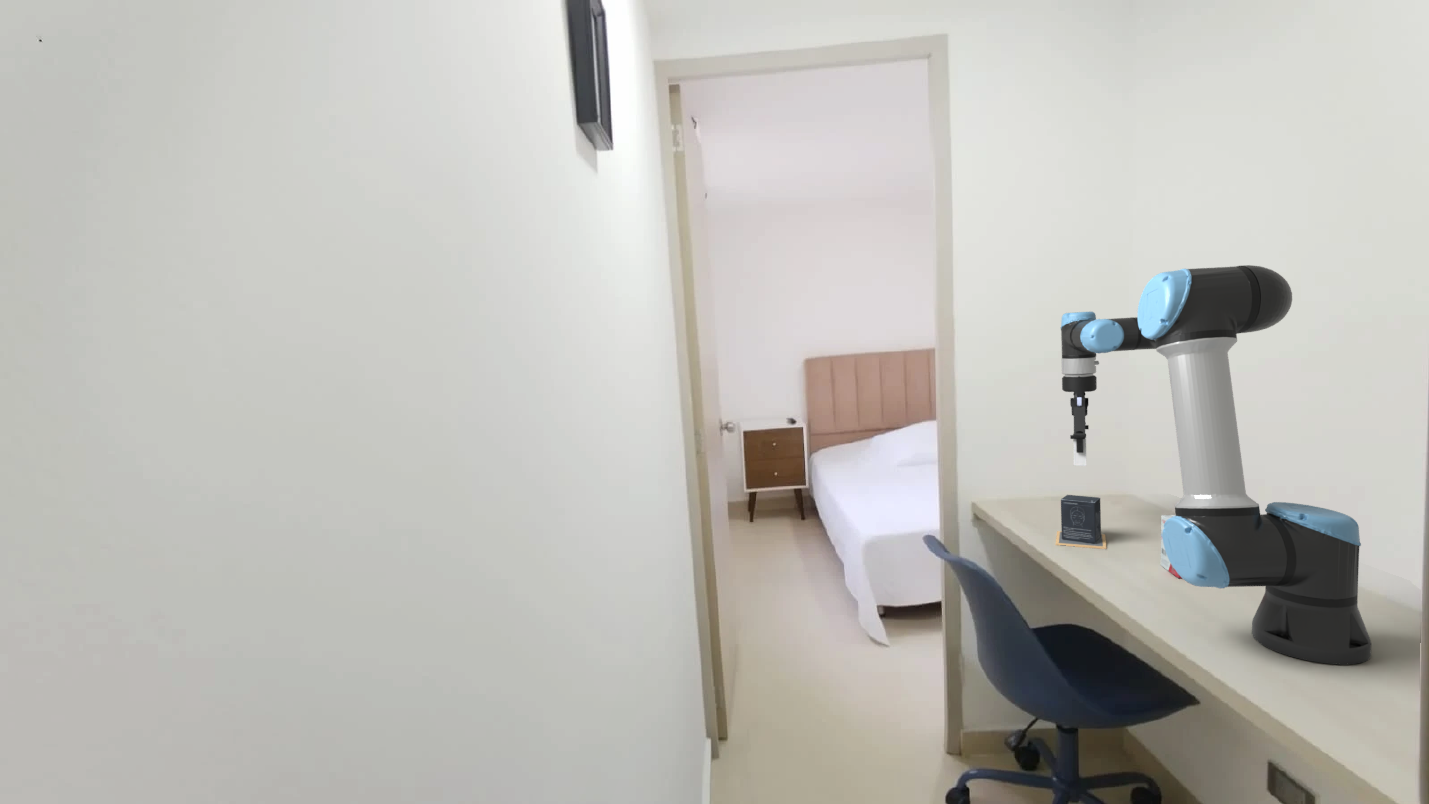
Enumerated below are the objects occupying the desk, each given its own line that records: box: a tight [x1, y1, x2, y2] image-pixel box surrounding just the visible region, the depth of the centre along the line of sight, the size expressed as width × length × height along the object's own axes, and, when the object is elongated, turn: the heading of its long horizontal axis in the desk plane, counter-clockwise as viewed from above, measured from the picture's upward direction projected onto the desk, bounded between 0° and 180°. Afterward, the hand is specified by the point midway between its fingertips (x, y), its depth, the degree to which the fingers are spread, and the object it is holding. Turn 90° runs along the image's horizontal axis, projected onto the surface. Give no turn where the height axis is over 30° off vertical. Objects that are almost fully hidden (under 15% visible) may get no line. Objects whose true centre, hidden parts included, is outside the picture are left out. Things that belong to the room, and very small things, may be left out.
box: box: [1060, 494, 1102, 543], centre depth 175 cm, size 8×6×11 cm
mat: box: [1055, 530, 1107, 550], centre depth 175 cm, size 11×11×1 cm
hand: (1080, 460), depth 173 cm, fingers open, 13 cm apart
